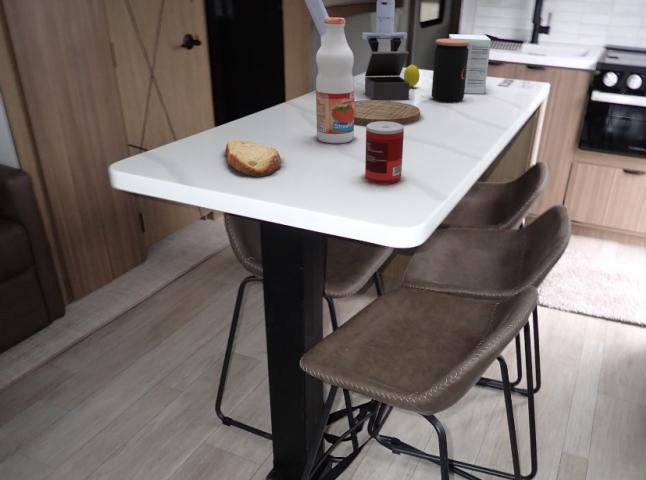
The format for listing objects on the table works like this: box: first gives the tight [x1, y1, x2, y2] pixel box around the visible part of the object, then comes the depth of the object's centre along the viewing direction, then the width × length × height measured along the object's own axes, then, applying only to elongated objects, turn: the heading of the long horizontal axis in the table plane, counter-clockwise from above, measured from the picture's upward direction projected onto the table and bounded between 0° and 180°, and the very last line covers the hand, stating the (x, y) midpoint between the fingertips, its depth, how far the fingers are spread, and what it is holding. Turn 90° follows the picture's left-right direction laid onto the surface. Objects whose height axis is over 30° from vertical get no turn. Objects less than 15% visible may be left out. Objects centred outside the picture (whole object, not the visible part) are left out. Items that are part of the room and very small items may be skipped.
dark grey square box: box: [364, 75, 410, 101], centre depth 197 cm, size 12×12×5 cm
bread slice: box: [225, 140, 282, 178], centre depth 132 cm, size 18×18×4 cm
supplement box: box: [448, 33, 492, 95], centre depth 207 cm, size 13×13×18 cm
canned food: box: [364, 121, 405, 185], centre depth 123 cm, size 8×8×11 cm
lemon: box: [403, 63, 421, 89], centre depth 211 cm, size 6×6×8 cm
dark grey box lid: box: [364, 50, 410, 78], centre depth 195 cm, size 12×12×4 cm
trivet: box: [354, 99, 421, 127], centre depth 174 cm, size 25×25×2 cm
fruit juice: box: [315, 16, 355, 144], centre depth 144 cm, size 9×9×28 cm
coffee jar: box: [431, 38, 469, 104], centre depth 192 cm, size 11×11×18 cm
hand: (383, 62), depth 197 cm, fingers closed on dark grey box lid, 5 cm apart
